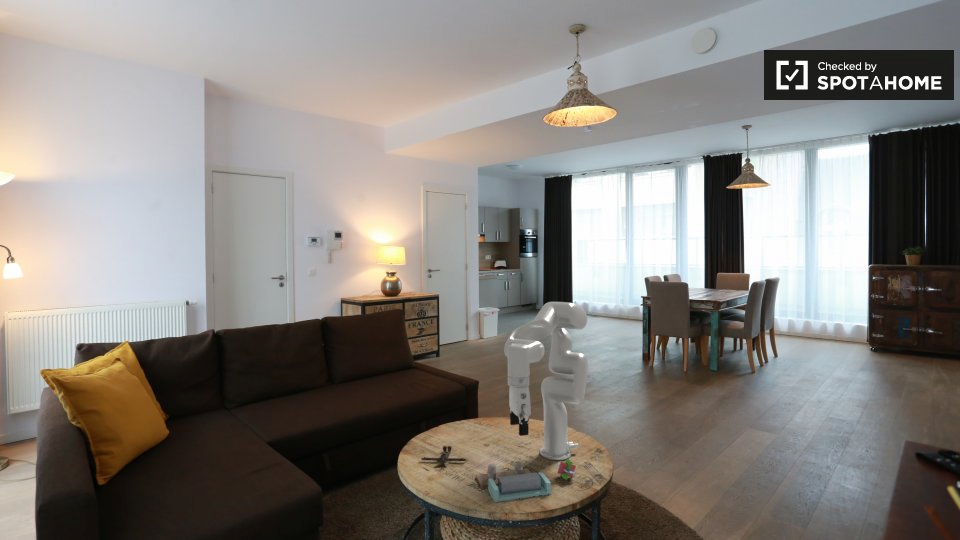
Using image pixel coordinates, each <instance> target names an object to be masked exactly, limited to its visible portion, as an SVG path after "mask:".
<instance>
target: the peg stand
mask: <svg viewBox="0 0 960 540" xmlns="http://www.w3.org/2000/svg"><path fill="white" fill-rule="evenodd" d="M513 465H514V466H513V468H514V470H513V469H512V470H505V471H497V465H496V464H495V463H492V464H491V463H490V464H488V465H487V473H481V474H476V475H475V476H476V477H475V478H476V480H477V482H478V484H479V486H480V488H481V489H485V488H488V479H493V480H494V482H495V484H496V486H498V477H504V476H512V475H520V474H528V473H532V472H531V471H530V470H529V468H523V467H524V466H523V462H522V461H520V460H517V461H514V464H513Z"/></svg>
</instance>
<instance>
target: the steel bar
mask: <svg viewBox="0 0 960 540" xmlns="http://www.w3.org/2000/svg"><path fill="white" fill-rule="evenodd" d="M498 489H499V491H500V493H501V495H506V494H514V493H521V492H528V491H536V490H541V478H540V477H539V476H538V473H537V472H531V473H528V474H520V475H512V476H504V477H498Z"/></svg>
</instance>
